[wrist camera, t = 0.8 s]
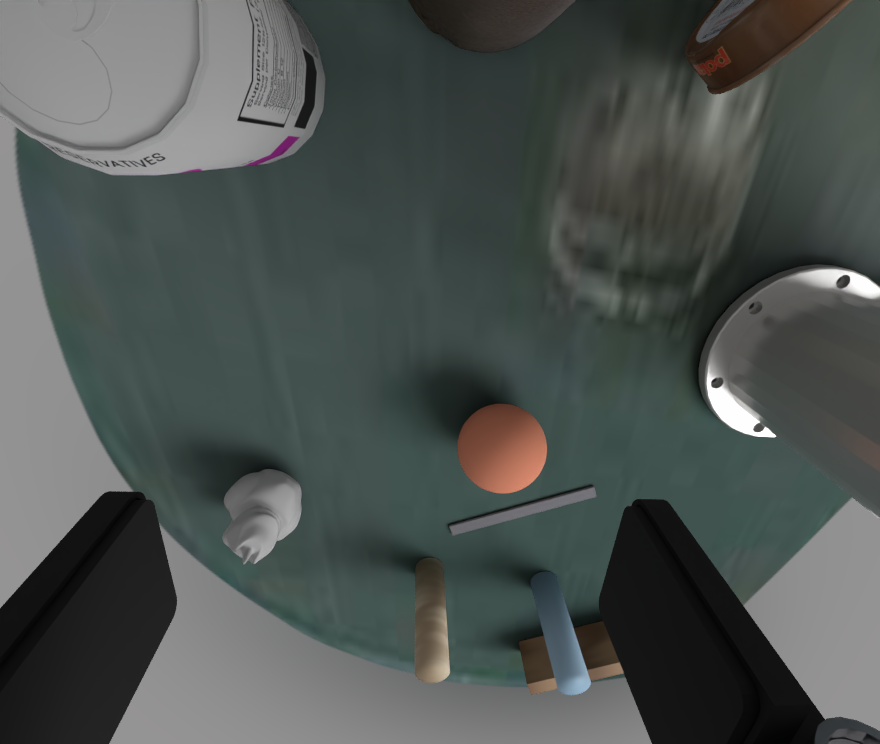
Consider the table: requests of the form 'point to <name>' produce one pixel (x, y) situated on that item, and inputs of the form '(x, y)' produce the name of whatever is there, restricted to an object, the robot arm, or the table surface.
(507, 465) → the ball
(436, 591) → the birch pin
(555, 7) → the pillar candle
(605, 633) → the back rail
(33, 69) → the supplement can
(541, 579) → the pin
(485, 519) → the lane line
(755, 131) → the table surface
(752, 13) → the tin
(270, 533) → the white figurine
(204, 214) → the table surface
